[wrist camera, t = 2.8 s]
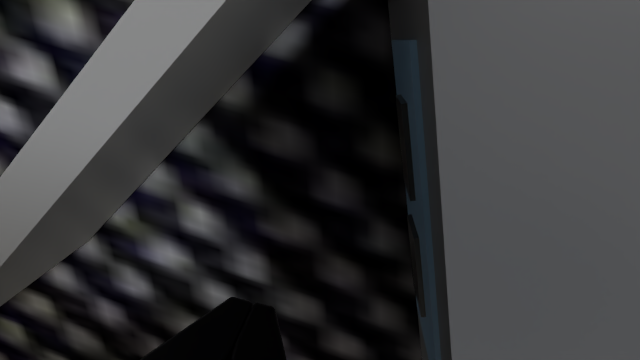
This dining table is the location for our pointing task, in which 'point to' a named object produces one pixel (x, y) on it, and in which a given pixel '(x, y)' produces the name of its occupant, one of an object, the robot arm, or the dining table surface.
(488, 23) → the grey appliance box
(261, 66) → the dining table surface
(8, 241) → the side door
